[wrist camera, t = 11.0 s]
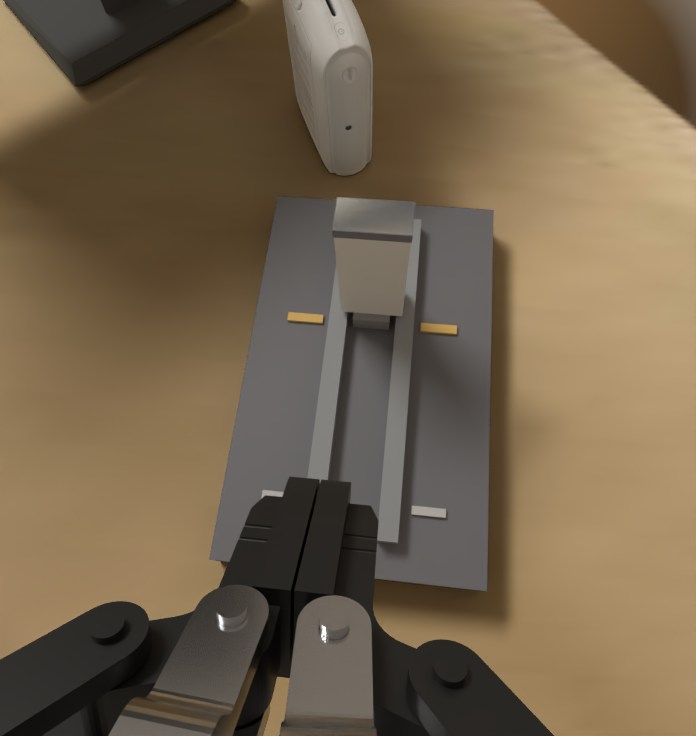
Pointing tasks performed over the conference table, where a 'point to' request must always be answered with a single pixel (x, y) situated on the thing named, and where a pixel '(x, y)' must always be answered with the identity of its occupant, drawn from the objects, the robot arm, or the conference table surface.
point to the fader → (372, 257)
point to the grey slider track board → (374, 394)
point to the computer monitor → (106, 29)
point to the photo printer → (332, 79)
